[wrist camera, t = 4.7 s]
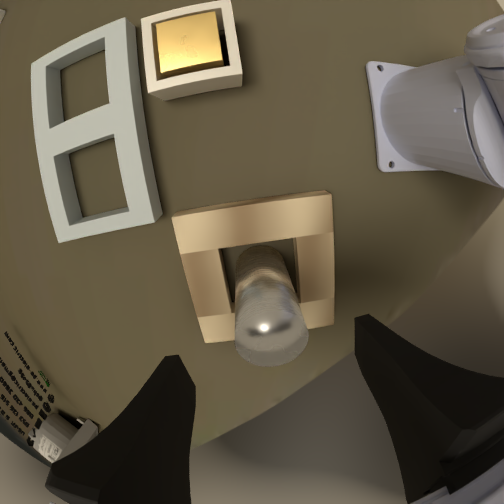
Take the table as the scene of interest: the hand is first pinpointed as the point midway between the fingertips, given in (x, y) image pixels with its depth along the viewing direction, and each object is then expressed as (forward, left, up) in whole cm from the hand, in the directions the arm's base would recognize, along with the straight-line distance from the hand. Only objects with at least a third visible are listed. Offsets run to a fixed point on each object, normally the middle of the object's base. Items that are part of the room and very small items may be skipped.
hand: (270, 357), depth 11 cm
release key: (+2, -14, -9) cm, 17 cm away
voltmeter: (+29, +16, -10) cm, 35 cm away
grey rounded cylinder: (0, +1, -10) cm, 10 cm away
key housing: (+2, -14, -10) cm, 17 cm away
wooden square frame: (0, +1, -10) cm, 10 cm away
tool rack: (+10, -11, -10) cm, 18 cm away
